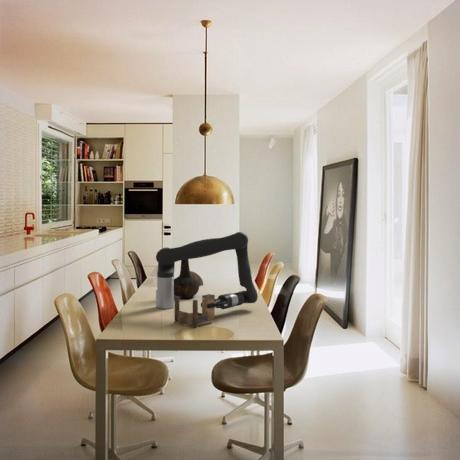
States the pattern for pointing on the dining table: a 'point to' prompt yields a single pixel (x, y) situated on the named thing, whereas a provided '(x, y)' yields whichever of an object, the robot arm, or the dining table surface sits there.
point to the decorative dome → (197, 278)
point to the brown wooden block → (206, 300)
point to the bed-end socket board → (190, 316)
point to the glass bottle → (185, 282)
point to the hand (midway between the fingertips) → (204, 305)
